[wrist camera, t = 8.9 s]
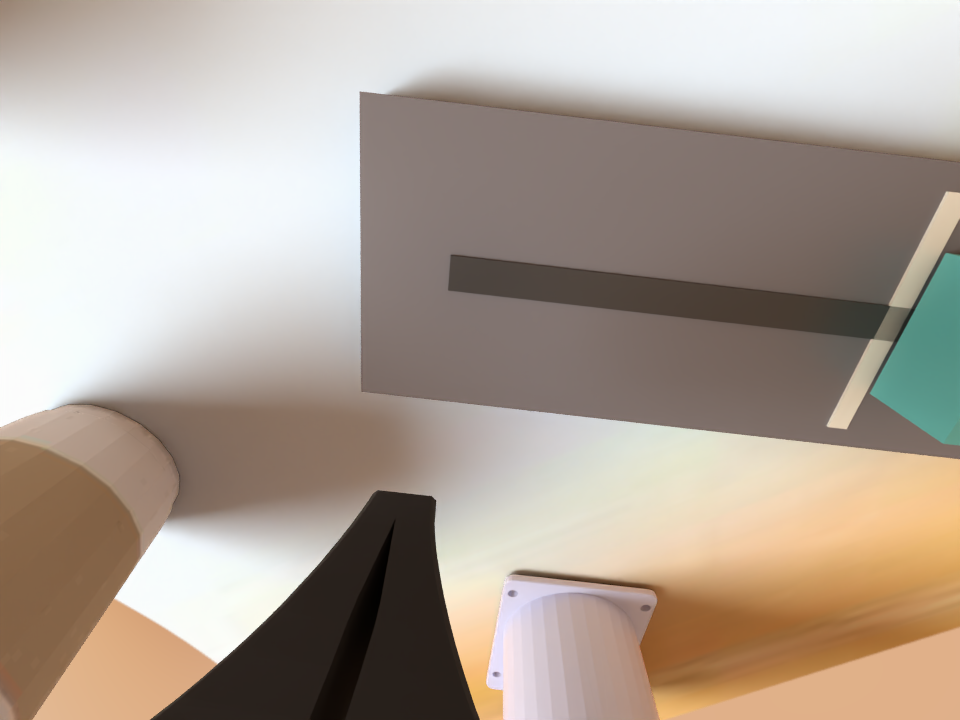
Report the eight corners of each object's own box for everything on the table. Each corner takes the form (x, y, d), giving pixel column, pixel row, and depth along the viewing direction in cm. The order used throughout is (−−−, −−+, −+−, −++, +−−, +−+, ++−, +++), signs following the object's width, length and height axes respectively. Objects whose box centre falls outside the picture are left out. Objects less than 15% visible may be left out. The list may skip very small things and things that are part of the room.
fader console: (935, 432, 20) (982, 462, 18) (374, 368, 19) (360, 392, 18) (1095, 182, 15) (1179, 187, 13) (376, 97, 15) (358, 90, 13)
